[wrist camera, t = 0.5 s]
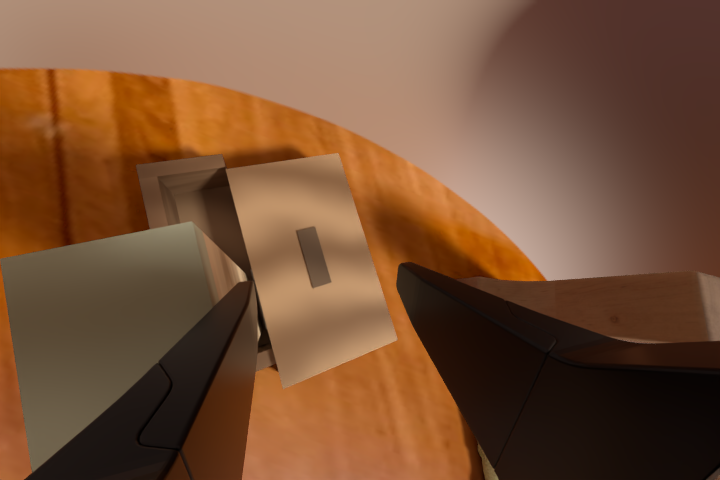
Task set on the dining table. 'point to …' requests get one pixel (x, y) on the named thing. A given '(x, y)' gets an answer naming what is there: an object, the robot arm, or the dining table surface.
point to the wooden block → (623, 304)
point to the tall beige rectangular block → (104, 320)
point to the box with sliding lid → (284, 252)
